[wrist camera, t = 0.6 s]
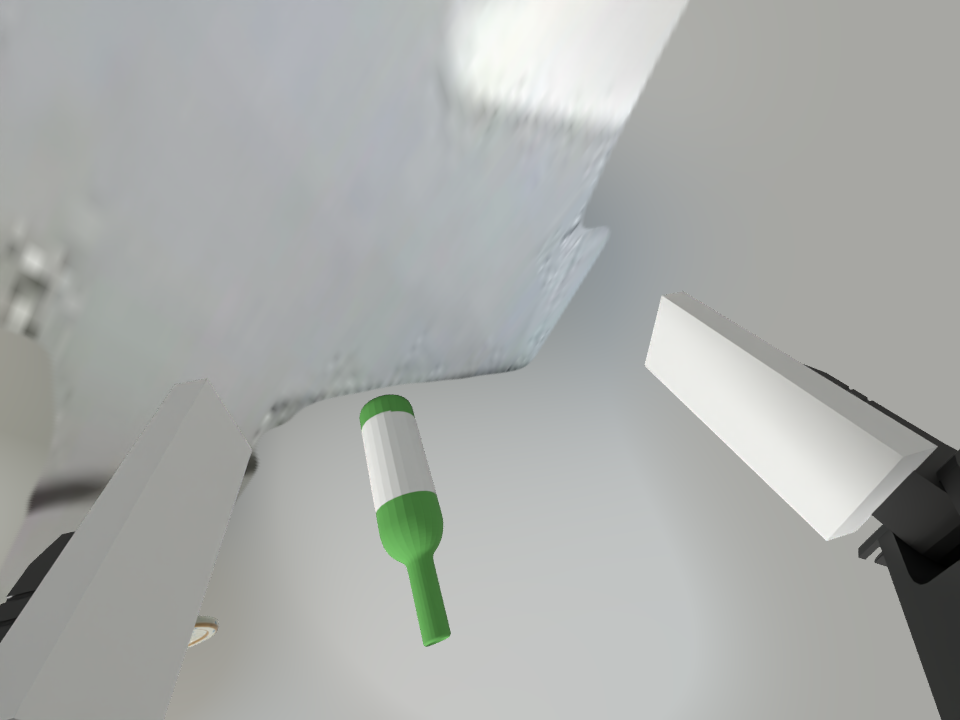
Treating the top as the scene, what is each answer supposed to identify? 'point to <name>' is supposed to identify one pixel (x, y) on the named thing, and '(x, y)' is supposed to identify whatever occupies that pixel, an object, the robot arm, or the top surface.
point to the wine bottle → (406, 504)
